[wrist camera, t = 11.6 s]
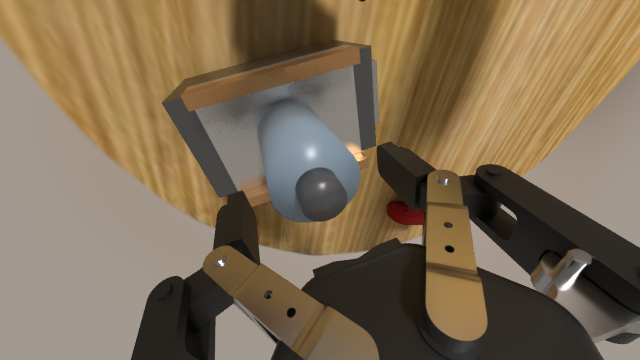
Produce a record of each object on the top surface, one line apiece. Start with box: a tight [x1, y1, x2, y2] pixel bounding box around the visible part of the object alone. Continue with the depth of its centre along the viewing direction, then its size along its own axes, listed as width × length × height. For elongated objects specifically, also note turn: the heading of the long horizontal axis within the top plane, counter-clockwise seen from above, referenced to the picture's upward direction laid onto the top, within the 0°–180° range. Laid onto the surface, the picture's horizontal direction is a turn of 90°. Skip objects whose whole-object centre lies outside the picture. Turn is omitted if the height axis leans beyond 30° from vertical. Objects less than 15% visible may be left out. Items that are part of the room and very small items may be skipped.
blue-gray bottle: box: [257, 100, 360, 222], centre depth 15 cm, size 5×5×10 cm
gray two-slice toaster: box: [162, 40, 379, 207], centre depth 23 cm, size 17×10×13 cm, turn 102°
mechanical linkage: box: [387, 201, 424, 225], centre depth 45 cm, size 16×7×5 cm, turn 76°
